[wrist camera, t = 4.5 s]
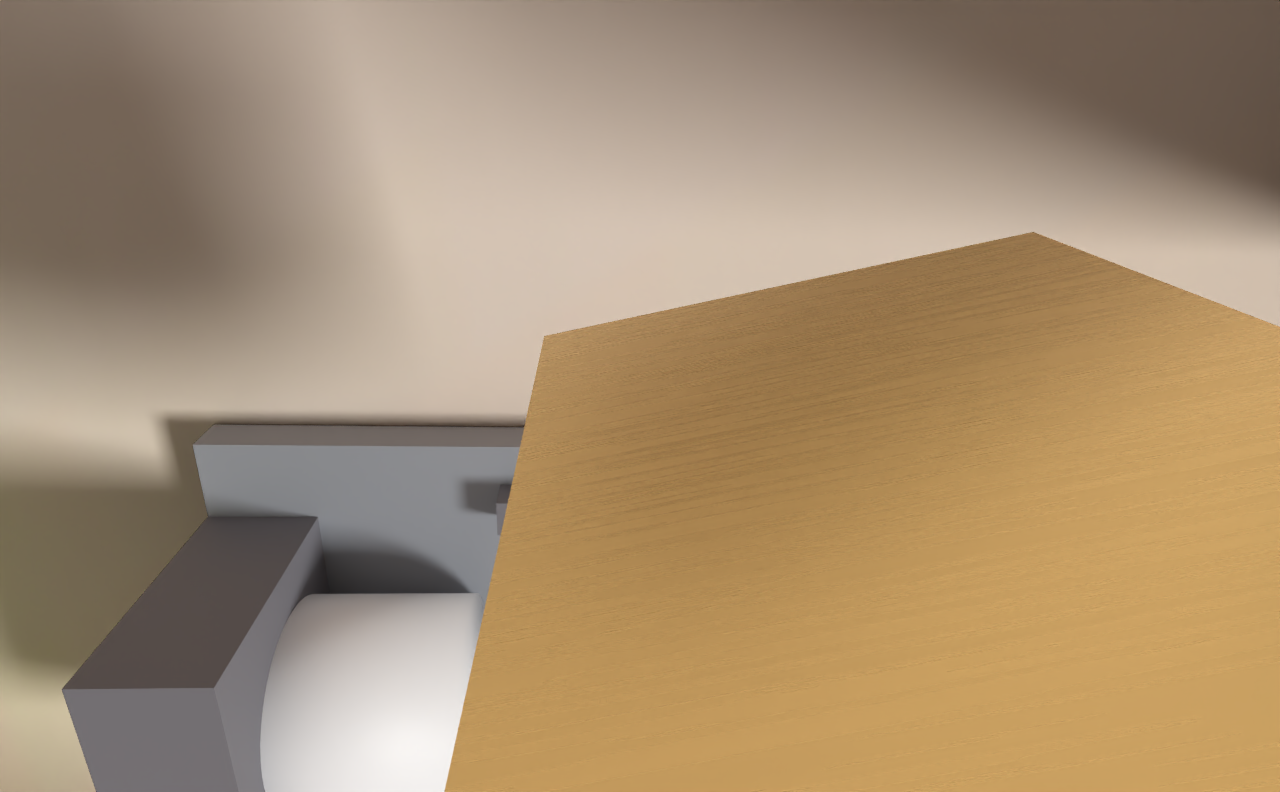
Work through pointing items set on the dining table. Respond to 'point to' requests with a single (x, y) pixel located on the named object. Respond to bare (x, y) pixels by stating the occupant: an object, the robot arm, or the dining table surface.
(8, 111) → the dining table surface
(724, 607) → the banded gold block
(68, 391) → the dining table surface
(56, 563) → the dining table surface
